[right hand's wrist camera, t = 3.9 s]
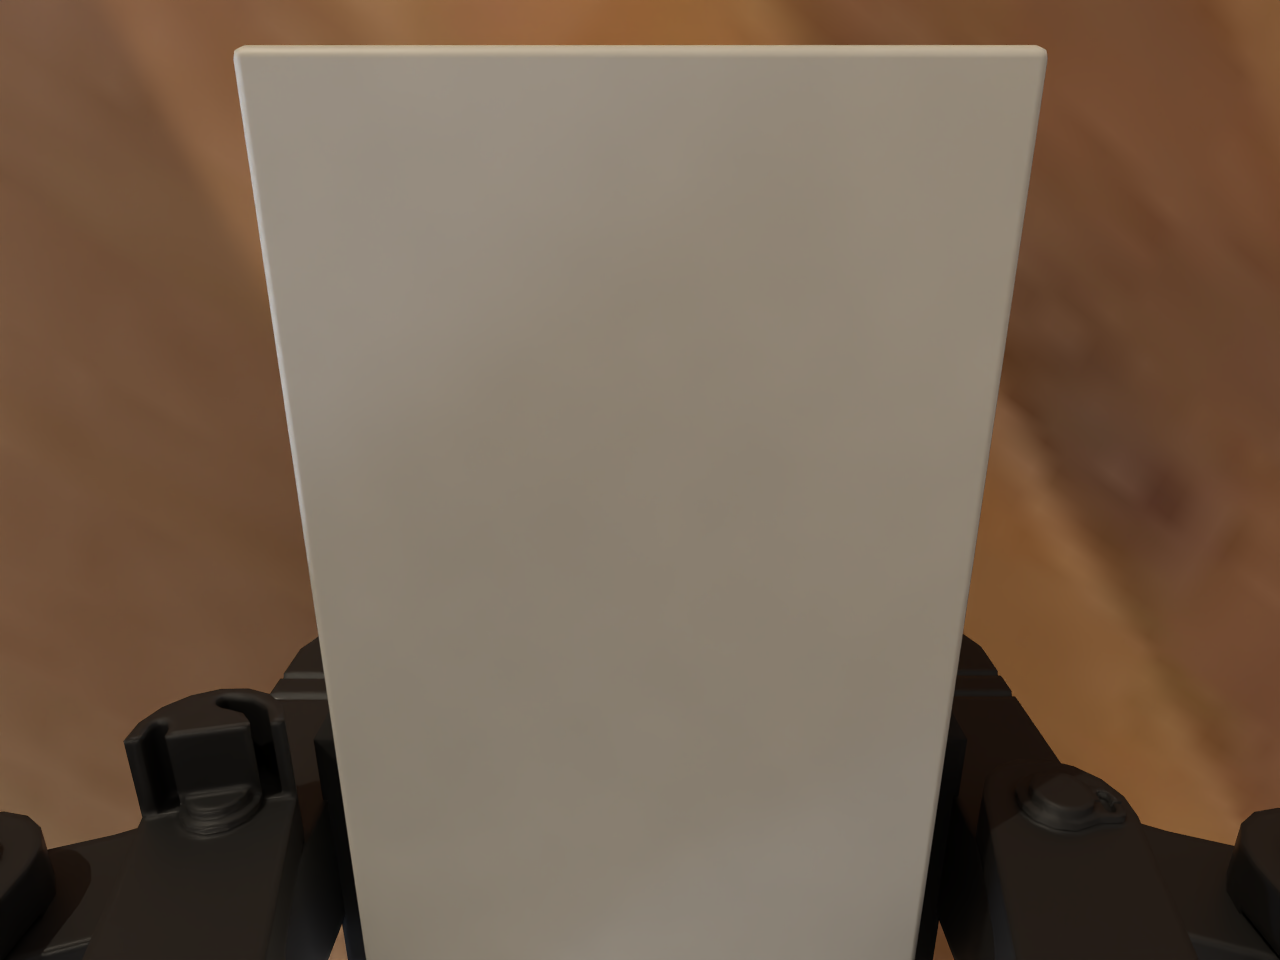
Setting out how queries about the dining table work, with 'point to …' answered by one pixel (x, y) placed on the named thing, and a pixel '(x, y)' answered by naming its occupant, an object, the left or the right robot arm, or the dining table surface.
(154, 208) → the dining table surface
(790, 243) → the bar
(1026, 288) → the dining table surface
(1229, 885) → the right robot arm
